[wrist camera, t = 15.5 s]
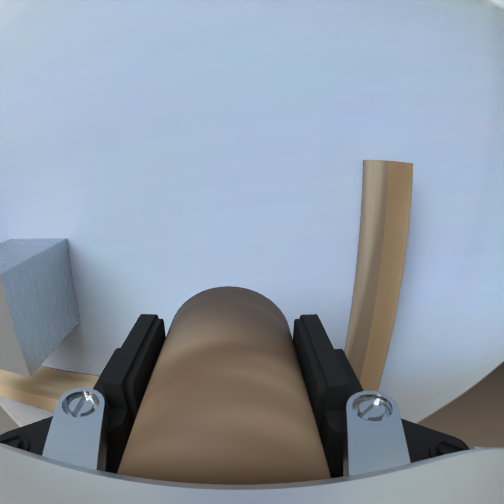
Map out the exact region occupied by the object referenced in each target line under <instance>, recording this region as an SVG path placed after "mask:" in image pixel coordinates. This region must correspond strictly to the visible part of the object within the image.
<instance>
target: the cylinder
mask: <svg viewBox="0 0 504 504" xmlns="http://www.w3.org/2000/svg"><path fill="white" fill-rule="evenodd" d="M117 474H120V475H126V476H132V477H139V478H146V479H154V480H162V481H172V482H183V483H197V484H221V485H254V484H278V483H293V482H304V481H314V480H322V479H330V478H331V476H330V472H329V468H328V465H327V461H326V457H325V454H324V450H323V446H322V443H321V439H320V435H319V432H318V428H317V425H316V421H315V417H314V414H313V410H312V407H311V403H310V399H309V396H308V392H307V389H306V385H305V382H304V378H303V375H302V371H301V368H300V364H299V361H298V357H297V353H296V350H295V347H294V343H293V340H292V336H291V333H290V329H289V326H288V323H287V320H286V318H285V316H284V315H283V313H282V312H281V310H280V309H279V308H278V307H277V306H276V305H275V304H274V303H273V302H272V301H270V300H269V299H268V298H266V297H265V296H263V295H261V294H259V293H257V292H255V291H252V290H249V289H246V288H240V287H229V286H228V287H217V288H212V289H208V290H205V291H203V292H200V293H198V294H196V295H195V296H193V297H191V298H190V299H189V300H187V301H186V302H185V303H184V304H183V305H182V306H181V307H180V308H179V310H178V311H177V313H176V314H175V316H174V319H173V321H172V323H171V326H170V328H169V331H168V333H167V336H166V339H165V341H164V344H163V346H162V349H161V351H160V354H159V357H158V359H157V362H156V365H155V367H154V370H153V373H152V375H151V378H150V381H149V383H148V386H147V389H146V391H145V394H144V397H143V400H142V402H141V405H140V408H139V411H138V414H137V416H136V419H135V422H134V425H133V428H132V431H131V433H130V436H129V439H128V442H127V445H126V448H125V451H124V454H123V457H122V460H121V463H120V466H119V469H118V472H117Z"/></svg>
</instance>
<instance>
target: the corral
mask: <svg viewBox="0 0 504 504" xmlns="http://www.w3.org/2000/svg"><path fill="white" fill-rule="evenodd" d="M412 178H413V164H412V163H404V162H395V161H379V160H363V187H362V206H361V221H360V234H359V245H358V256H357V266H356V275H355V284H354V292H353V300H352V307H351V314H350V321H349V328H348V335H347V341H346V347H345V355H346V357H347V359H348V361H349V363H350V364H351V366H352V368H353V370H354V372H355V374H356V376H357V378H358V380H359V382H360V384H361V386H362V388H363V390H364V391H378V388H379V384H380V380H381V377H382V373H383V369H384V365H385V361H386V357H387V353H388V348H389V344H390V340H391V335H392V331H393V326H394V321H395V316H396V311H397V305H398V300H399V294H400V288H401V282H402V276H403V269H404V262H405V255H406V247H407V239H408V229H409V219H410V208H411V195H412ZM99 377H100V376H95V375H88V374H81V373H75V372H69V371H63V370H58V369H53V368H47V367H42V366H40V367H39V368H38V369H37V370H36V371H35V373H34V374H33V375H32V376H31V377H27V376H24V375H20V374H16V373H12V372H9V371H5V370H2V369H0V396H2V397H5V398H8V399H11V400H14V401H18V402H21V403H24V404H28V405H31V406H35V407H38V408H42V409H46V410H49V411H53V412H55V409H56V405H57V403H58V401H59V399H60V398H61V397H62V396H63V395H64V394H65V393H67V392H69V391H71V390H74V389H78V388H90V389H93V387H94V386H95V384H96V382H97V380H98V379H99Z"/></svg>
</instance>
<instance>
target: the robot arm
mask: <svg viewBox="0 0 504 504" xmlns="http://www.w3.org/2000/svg"><path fill="white" fill-rule="evenodd" d="M165 339H166V336H165V328H164V321H163V319H159V318H158V316H157V315H152V314H141V315H140V317H139V318H138V320H137V322H136V323H135V325H134V327H133V328H132V330H131V332H130V333H129V335H128V337H127V338H126V340H125V342H124V343H123V345H122V347H121V348H117V349H116V350H115V351H114V353H113V355H112V356H111V358H110V360H109V362H108V363H107V365H106V367H105V368H104V370H103V372H102V373H101V375H100V377H99V379H98V380H97V382H96V384H95V386H94V387H93V389H90V388H78V389H74V390H71V391H69V392H67V393H65V394H64V395H63V396H62V397H61V398H60V399H59V401H58V403H57V405H56V409H55V412H54V415H53V416H52V417H49V418H46V419H43V420H41V421H38V422H35V423H32V424H29V425H26V426H23V427H20V428H17V429H14V430H11V431H8V432H6V433H3V434H2V435H0V504H504V448H482V447H474V448H473V449H471V450H470V449H469V448H468V446H467V445H466V444H465V443H464V442H463V441H462V440H460V439H458V438H456V437H453V436H450V435H447V434H444V433H441V432H438V431H435V430H432V429H429V428H426V427H424V426H421V425H418V424H415V423H412V422H409V421H407V420H404V419H401V417H400V413H399V409H398V406H397V404H396V402H395V401H394V400H393V399H392V398H391V397H390V396H388V395H386V394H384V393H381V392H378V391H364V390H363V388H362V386H361V384H360V382H359V380H358V378H357V376H356V374H355V372H354V370H353V368H352V366H351V364H350V363H349V361H348V359H347V357H346V355H345V353H344V351H343V350H342V349H334V348H333V346H332V344H331V342H330V340H329V338H328V336H327V334H326V332H325V330H324V327H323V325H322V323H321V321H320V319H319V317H318V315H317V314H314V315H301V316H300V319H295V321H294V332H293V343H294V347H295V350H296V353H297V357H298V361H299V364H300V368H301V371H302V375H303V378H304V382H305V385H306V389H307V392H308V396H309V399H310V403H311V407H312V410H313V414H314V417H315V421H316V425H317V428H318V432H319V435H320V439H321V443H322V446H323V450H324V454H325V457H326V461H327V465H328V468H329V472H330V476H331V478H330V479H322V480H314V481H304V482H293V483H278V484H254V485H221V484H197V483H183V482H172V481H162V480H154V479H146V478H139V477H132V476H126V475H120V474H117V472H118V469H119V466H120V463H121V460H122V457H123V454H124V451H125V448H126V445H127V442H128V439H129V436H130V433H131V431H132V428H133V425H134V422H135V419H136V416H137V414H138V411H139V408H140V405H141V402H142V400H143V397H144V394H145V391H146V389H147V386H148V383H149V381H150V378H151V375H152V373H153V370H154V367H155V365H156V362H157V359H158V357H159V354H160V351H161V349H162V346H163V344H164V341H165Z"/></svg>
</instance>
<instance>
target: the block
mask: <svg viewBox="0 0 504 504" xmlns="http://www.w3.org/2000/svg"><path fill="white" fill-rule="evenodd" d="M79 322H80V317H79V312H78V307H77V302H76V297H75V291H74V285H73V279H72V273H71V266H70V259H69V251H68V242H67V239H10V240H8V241H5V242H3V243H1V244H0V369H2V370H5V371H9V372H12V373H16V374H20V375H24V376H27V377H31V376H32V375H33V374H34V373H35V371H36V370H37V369H38V368H39V367H40V366H41V364H42V363H43V362H44V361H45V360H46V359H47V357H48V356H49V355H50V354H51V353H52V352H53V351H54V349H55V348H56V347H57V346H58V345H59V344H60V343H61V341H62V340H63V339H64V338H65V337H66V336H67V335H68V334H69V333H70V331H71V330H72V329H73V328H74V327H75V326H76V325H77V324H78V323H79Z"/></svg>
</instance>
